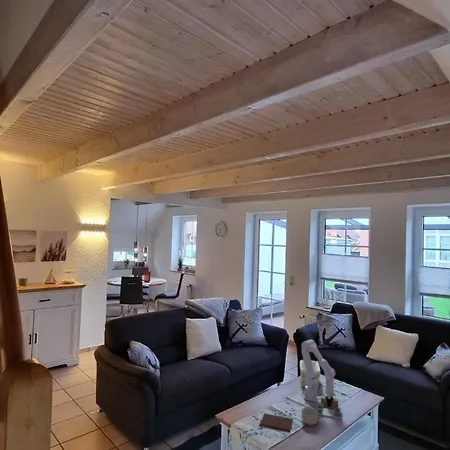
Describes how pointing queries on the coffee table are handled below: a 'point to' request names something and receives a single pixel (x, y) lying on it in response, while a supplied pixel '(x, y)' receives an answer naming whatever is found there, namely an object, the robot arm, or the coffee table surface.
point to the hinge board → (329, 412)
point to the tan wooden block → (333, 404)
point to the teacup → (309, 416)
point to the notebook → (276, 422)
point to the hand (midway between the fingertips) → (329, 404)
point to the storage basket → (304, 372)
